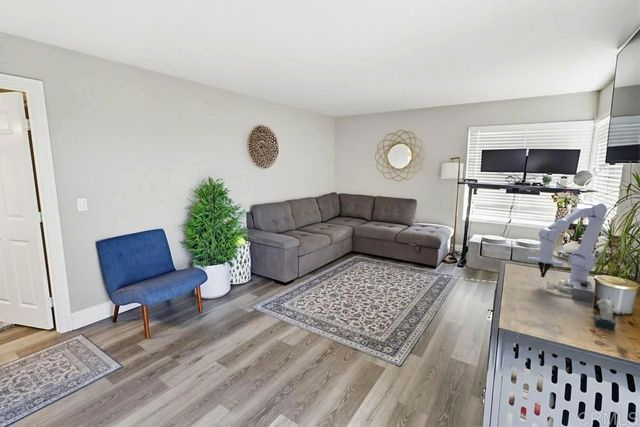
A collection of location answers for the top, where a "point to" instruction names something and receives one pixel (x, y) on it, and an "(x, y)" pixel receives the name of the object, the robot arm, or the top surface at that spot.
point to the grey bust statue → (605, 315)
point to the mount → (582, 290)
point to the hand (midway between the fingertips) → (542, 276)
